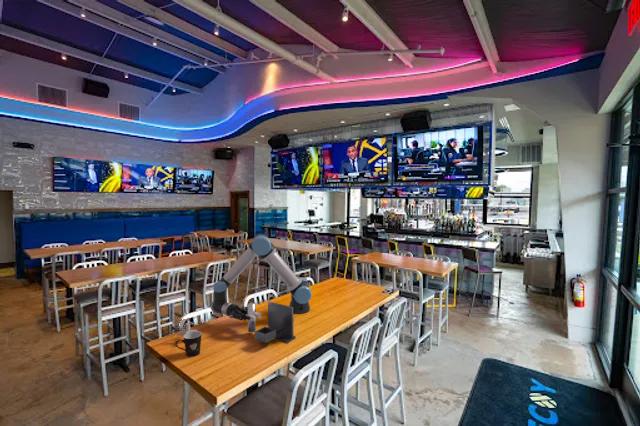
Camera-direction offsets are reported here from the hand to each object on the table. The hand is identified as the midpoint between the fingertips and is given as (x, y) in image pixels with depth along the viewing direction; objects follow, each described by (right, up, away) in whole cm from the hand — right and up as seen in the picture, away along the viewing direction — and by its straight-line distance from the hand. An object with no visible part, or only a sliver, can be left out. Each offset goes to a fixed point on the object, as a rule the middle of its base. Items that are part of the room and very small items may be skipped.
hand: (258, 317), depth 177 cm
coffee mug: (-31, -12, -19) cm, 39 cm away
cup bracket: (+9, -11, -6) cm, 15 cm away
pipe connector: (-38, -12, -5) cm, 40 cm away
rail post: (-4, -9, +3) cm, 10 cm away
